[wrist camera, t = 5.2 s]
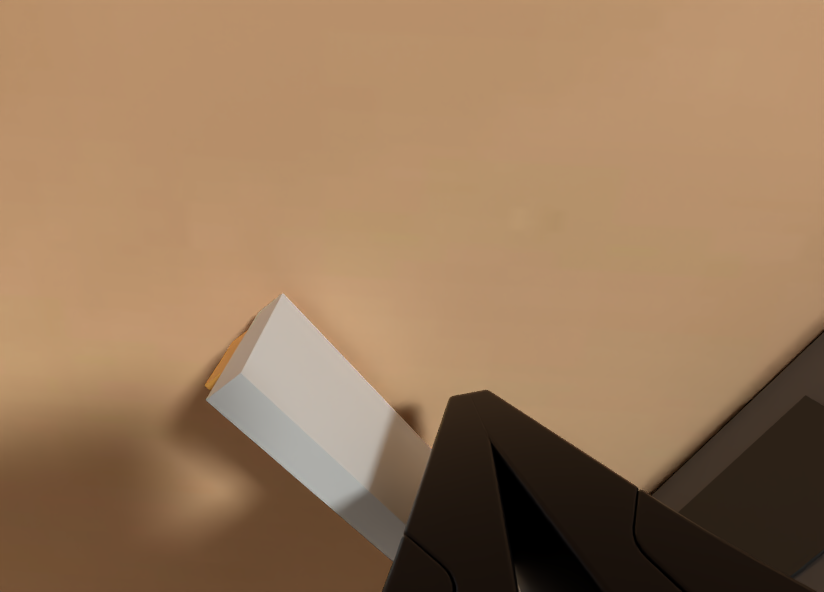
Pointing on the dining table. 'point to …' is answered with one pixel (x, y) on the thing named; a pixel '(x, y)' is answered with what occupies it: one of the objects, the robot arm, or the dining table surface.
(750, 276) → the dining table surface
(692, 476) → the block
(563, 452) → the robot arm
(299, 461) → the side door
